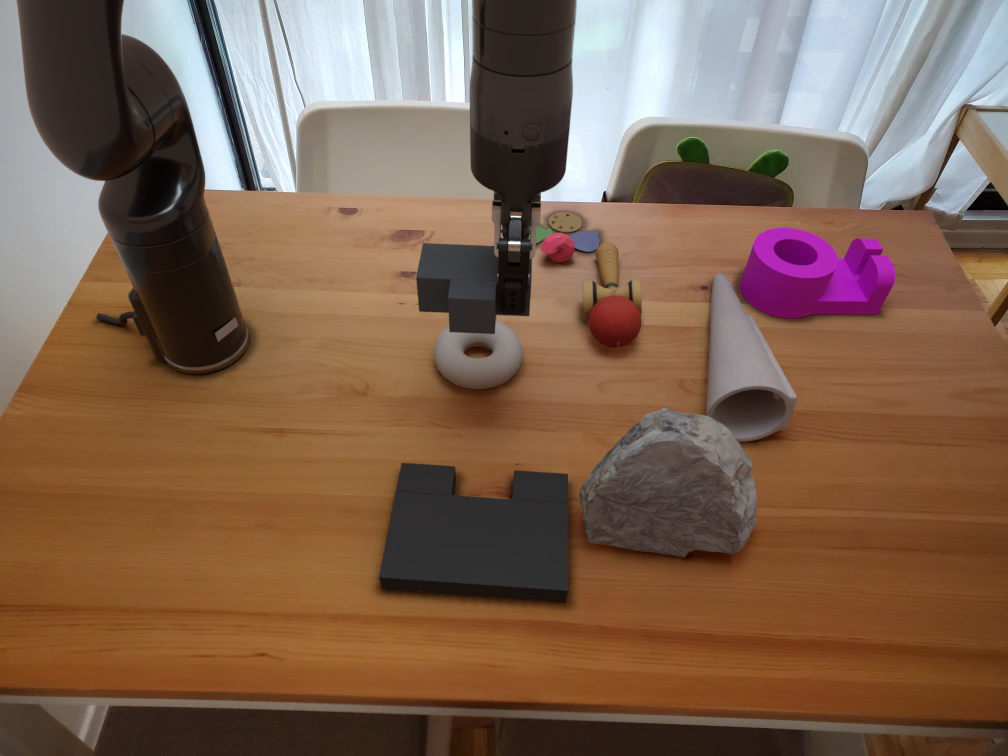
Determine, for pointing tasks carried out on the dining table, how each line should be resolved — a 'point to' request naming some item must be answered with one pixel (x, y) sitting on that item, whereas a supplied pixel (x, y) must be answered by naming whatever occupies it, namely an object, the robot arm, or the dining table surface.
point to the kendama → (612, 302)
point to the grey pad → (462, 286)
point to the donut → (478, 370)
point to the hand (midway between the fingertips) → (513, 290)
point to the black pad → (478, 537)
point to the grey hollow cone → (743, 371)
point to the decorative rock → (672, 488)
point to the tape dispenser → (815, 275)
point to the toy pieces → (565, 237)
